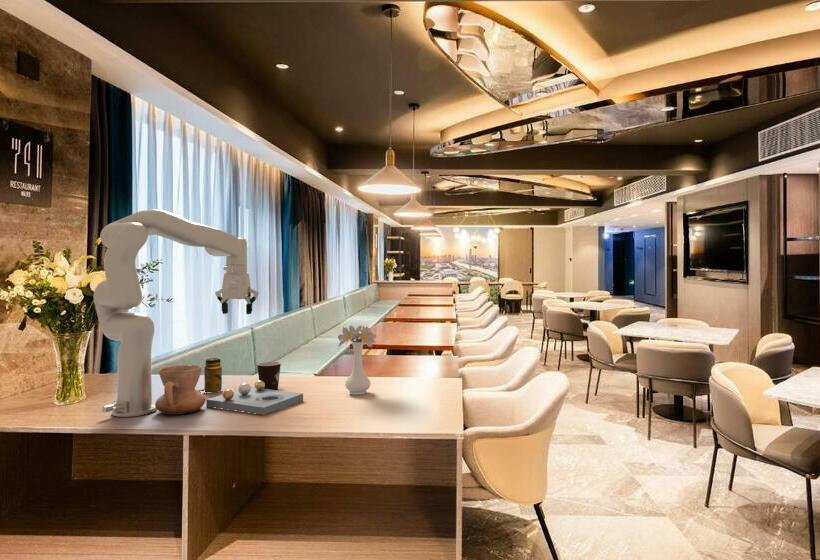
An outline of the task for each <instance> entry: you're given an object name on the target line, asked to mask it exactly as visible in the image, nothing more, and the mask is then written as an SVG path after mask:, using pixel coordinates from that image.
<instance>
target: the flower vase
mask: <svg viewBox="0 0 820 560" xmlns="http://www.w3.org/2000/svg"><path fill="white" fill-rule="evenodd" d="M341 329H342V334H341V333H340V334H338V336H337V339H338V341H340V342H339V343H338V347H341V346H342V347H344V346H345V345H346V344H347V343H348V342H349V341H350V343H351V344H352V348H353V365H352V371H351V373H350V375H349V377H347V379H346V380H345V384H344V387H345V389H347V391H348V393H349V394H350V395H355V396H361V395H365V394H367V391H368V390H369V388H370V387H371V381H370V378H369V377H368V376H367V375H366V373H365V371H364V368H363V347H364V345H365V344H366V345H367V347H368V348H372V347H373V344H375V343H376V342H375V340H374V339H376V338H377V334H376V333H375V334H374V333H373V332H372V331H371V329H370V327H368V326H364V325H359V326H358V327H356V328H355V327H354V326H353V325H349V326H348V327H345V326H342V328H341Z"/></svg>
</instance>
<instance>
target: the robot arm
mask: <svg viewBox="0 0 820 560" xmlns="http://www.w3.org/2000/svg"><path fill="white" fill-rule="evenodd" d="M99 236H100V237H99V238H100V241H101V243H102V245H103V246H105V248H107V249H106V251H105V254H104V258H103V269H104V274H105V279H104V280H103V281H100V282H99V283H98V284H97V285H96V286H95V289H94V292H93V302H94V303H93V304H94V307H95V311H96V314H97V319H98V322H99V325H100V329H101V331H102V334H103V335H104V336H105V337H106V338H107V339H109V340H111V341H116V342H120V344H119V348H118V350H117V356H116V357H117V358H116V360H117V361H116V366H117V371H116V376H117V377H116V378H117V381H116V382H117V383H116V384H117V385H116V386H117V399H114V400H113V401H114V402H113V403H112V404H109V405H104V406H102V408H101V410H102V413H108V412H111V414H112V416H114V417H118V418H129V417H132V418H133V417H139V416H144V414H145V415H149V414H152V413H154V412H156V411H158V410H157V409H156V406H155V403H152V402H153V401H152V399H153V398H152V397H153V396H152V393H153V392H152V389H153V388H152V387H153V384H152V382H153V381H152V379H153V378H152V347H153V339H154V335H155V324H154V322H153V319H152V318H151V317H150V316H149V315H147V314H145V313H141V312H135V311H133V312H132V311H129V310H133V309H136V308H138V307H139V306H140V305H141V303H142V301H143V293H142V287H141V285H140V280H139V277H138V272H137V267H136V259H137V255H138V254H139V252H140V250H141V249H142V248H143V246H145V244H146V243H147V241H148V239H149V236H159V237H162V238H164V239H167V240H170V241H172V242H175V243H177V244H181V245H184V246H188V247H189V246H190V247H198V248H204V250H205V252H206V253H207V254H208V255H210V256H212V257H226V265H225V266H223V271H225V272H226V273H224V274H223V278H222V284H221V285H222V287H221V289H219V290H217V291H215V296H216V298H217V300H218V301H219V303H220V304H221V312H222V315H226V314H228V313H229V303H228V301H229V300H245V302H246V304H245V305H246V307H245V313H246V315H251V314H252V312H253V304H254V303H255V301H256V300H257V298H258V296H259V294H260V293H259V291H257V290H255V289H253V288H252V287H251V286H252V285H251V278H250V275H249V273H248V242H247V240H246V239H245V238H243V237H237V236H236V235H234V234H231V233H229V232H227V231H225V230H222V229H220V228H215V227H212V226H208V225H205V224H201V223H197V222H194V221H191V220H188V219H186V218H184V217H181V216H179V215H177V214H174V213H172V212H169V211H168V210H167V211H166V210H163V209H161V208H160V209H159V208H158V209H156V208H155V209H145V210H140V211H137V212H135V213H132V214H130V215H128V216H127V215H126V216H125V217H123V218H120V219H118V220H116V221H113V222H111V223H108V224H107V225H105V226H104V227H103V228H102V229H101V231H100V235H99ZM252 294H253V296H252ZM251 296H252V297H251ZM155 410H156V411H155ZM151 412H152V413H151ZM148 413H149V414H148Z"/></svg>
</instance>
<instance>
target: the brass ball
mask: <svg viewBox="0 0 820 560" xmlns="http://www.w3.org/2000/svg"><path fill="white" fill-rule="evenodd" d="M264 387H265V383H264V382H263V381H261V380H259V379H258V380H256V381H255V383H254V388H256V389H257V390H262V389H264Z"/></svg>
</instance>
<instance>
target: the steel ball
mask: <svg viewBox="0 0 820 560" xmlns="http://www.w3.org/2000/svg"><path fill="white" fill-rule="evenodd" d="M251 387H252V386H251V385H250V384H249V383H246V382H243V383H241V384H240V385H239V387H238V390H239V393H240V394H242V395H247V394H248V393H249V392H250V390H251Z"/></svg>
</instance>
